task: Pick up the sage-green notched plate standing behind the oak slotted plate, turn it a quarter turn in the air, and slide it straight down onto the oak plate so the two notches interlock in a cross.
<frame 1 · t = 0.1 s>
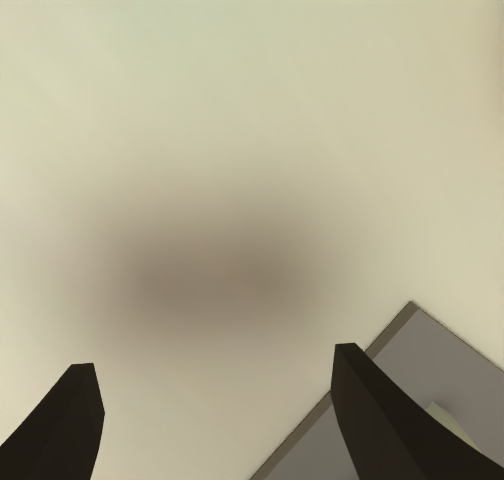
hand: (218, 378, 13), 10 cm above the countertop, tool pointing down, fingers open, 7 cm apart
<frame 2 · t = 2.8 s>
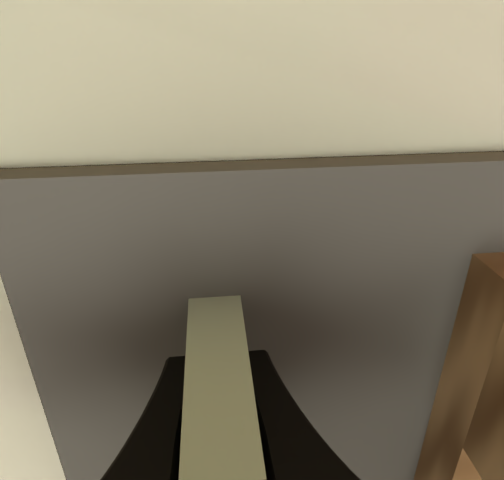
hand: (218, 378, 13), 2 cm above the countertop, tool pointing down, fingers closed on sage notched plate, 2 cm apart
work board: (353, 414, 17), on the countertop
oak slotted plate: (445, 426, 17), resting on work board
sage notched plate: (223, 448, 16), point 1 cm above the countertop, touching gripper, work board
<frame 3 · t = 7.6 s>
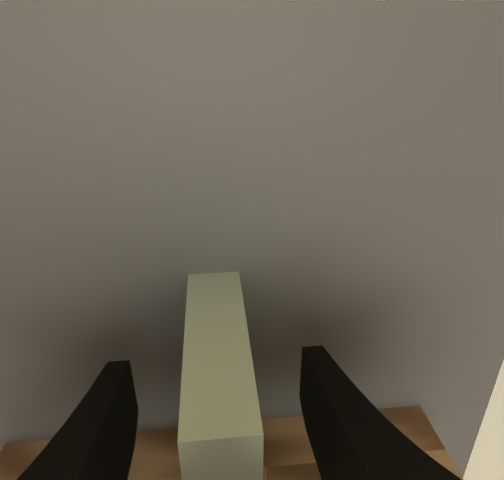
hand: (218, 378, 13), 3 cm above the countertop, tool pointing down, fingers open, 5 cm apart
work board: (218, 351, 16), on the countertop
oak slotted plate: (222, 437, 16), resting on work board
sage notched plate: (221, 427, 16), point 1 cm above the countertop, touching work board
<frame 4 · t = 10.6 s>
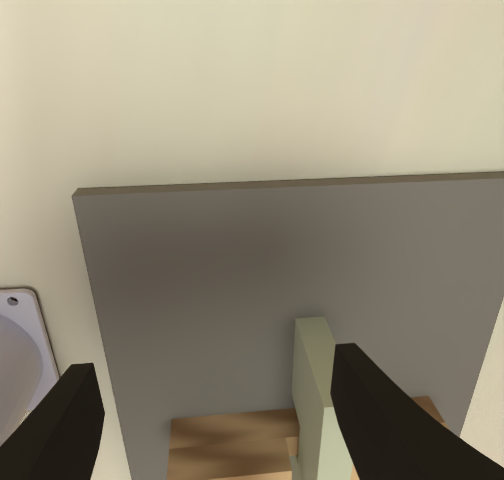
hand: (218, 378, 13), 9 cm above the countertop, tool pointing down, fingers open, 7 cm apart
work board: (302, 361, 25), on the countertop
oak slotted plate: (303, 416, 26), resting on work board
sage notched plate: (303, 409, 26), point 1 cm above the countertop, touching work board
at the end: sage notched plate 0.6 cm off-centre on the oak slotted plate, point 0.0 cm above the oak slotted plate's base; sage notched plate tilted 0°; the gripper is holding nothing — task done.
